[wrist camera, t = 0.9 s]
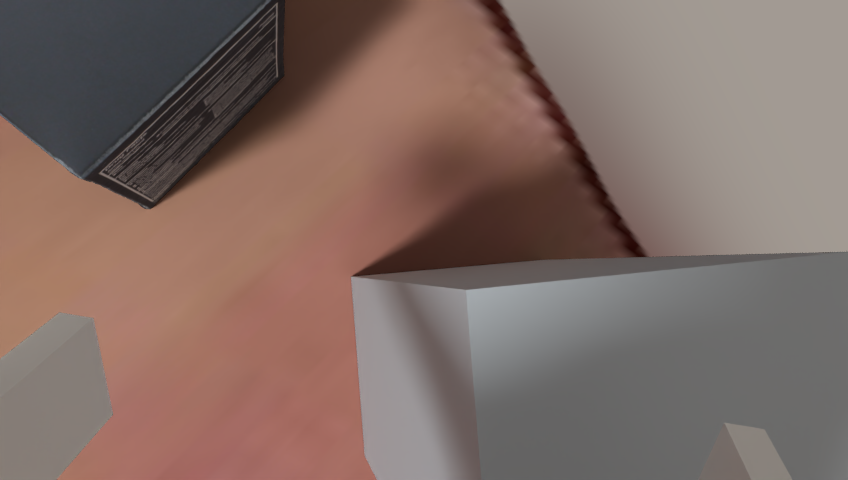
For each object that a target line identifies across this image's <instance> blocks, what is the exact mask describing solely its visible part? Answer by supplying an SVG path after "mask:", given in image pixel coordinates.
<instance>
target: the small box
mask: <svg viewBox="0 0 848 480" xmlns="http://www.w3.org/2000/svg"><path fill="white" fill-rule="evenodd" d="M284 6H285V0H0V115H1V116H2V117H3V118H4V119H6V120H7V121H8V122H9V123H11V124H12V125H13V126H14V127H16V128H17V129H18V130H19V131H20V132H22V133H23V134H24V135H25V136H27V137H28V138H29V139H30V140H31V141H33V142H34V143H35V144H36V145H38V146H39V147H40V148H41V149H43V150H44V151H45V152H46V153H48V154H49V155H50V156H51V157H53V158H54V159H55V160H56V161H57V162H59V163H60V164H61V165H63V166H64V167H65V168H66V169H67V170H68V171H70V172H71V173H72V174H74V175H75V176H77V177H78V178H80V179H83V180H86V181H89V182H93V183H95V184H99V185H101V186H103V187H104V188H107V189H108V190H111V191H112V192H114V193H117V194H119V195H121V196H123V197H126V198H128V199H130V200H132V201H134V202H136V203H138V204H139V205H140V206H141V207H143V208H145V209H151V208H152V207H153V206H154V205H155V204H156V203H157V202H158V201H159V200H160V199H161V198H162V197H163V196H164V195H165V194H166V193H167V192H168V191H169V190H170V189H171V188H172V187H173V186H174V185H175V184H176V183H177V182H178V181H179V180H180V179H181V178H182V177H183V176H184V175H185V174H186V173H187V172H188V171H189V170H190V169H191V168H192V167H193V166H194V165H196V164H197V163H198V162H199V160H200V159H201V158H202V157H204V155H205V154H206V153H207V152H209V151H210V149H211V148H213V146H214V145H215V144H216V143H217V142H218V141H219V140H220V139H221V138H223V137H224V136H225V134H226V133H227V132H228V131H229V130H231V129H232V128H233V127H234V126H235V125H236V124H237V123H238V122H239V121H240V120H241V119H242V117H244V116H245V114H246V113H248V112H249V110H250V109H252V108H253V107H254V106H255V105H256V104H257V103H258V102H259V101H260V100H261V98H262V97H263V96H264V95H265V94H266V93H267V92H268V91H269V90H270V89H271V88H272V87H273V86H274V85H275V84H276V83H277V82H278V81H279V80H280V79H281V78H282V77H283V76H284V64H283V47H284V43H283V42H284V18H285V15H284V13H285V8H284Z"/></svg>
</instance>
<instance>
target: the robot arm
mask: <svg viewBox="0 0 848 480" xmlns="http://www.w3.org/2000/svg"><path fill="white" fill-rule="evenodd" d="M112 415H113V412H112V407H111V402H110V397H109V392H108V387H107V383H106V378H105V373H104V368H103V363H102V358H101V353H100V348H99V344H98V339H97V334H96V329H95V324H94V319H93V318H90V317H84V316H78V315H72V314H66V313H58V314H57V315H56V316H54V317H53V318H52V319H51V320H49V321H48V322H47V323H45V324H44V325H43V326H42V327H40V328H39V329H38V330H37V331H35V332H34V333H33V334H31V335H30V336H29V337H28V338H26V339H25V340H24V341H22V342H21V343H20V344H19V345H17V346H16V347H15V348H13V349H12V350H11V351H10V352H8V353H7V354H6V355H5V356H3V357H2V358H1V359H0V480H56V479H57V478H58V477H59V476H60V475H61V474H62V472H63V471H64V470H65V469H66V468H67V467H68V466H69V464H70V463H71V462H72V461H73V460H74V459H75V458H76V456H77V455H78V454H79V453H80V452H81V451H82V449H83V448H84V447H85V446H86V445H87V444H88V443H89V441H90V440H91V439H92V438H93V437H94V436H95V435H96V433H97V432H98V431H99V430H100V429H101V428H102V427H103V425H104V424H105V423H106V422H107V421H108V420H109V419H110V417H111V416H112ZM698 480H792V478H791V476H790V474H789V473H788V471H787V469H786V467H785V465H784V464H783V462H782V460H781V458H780V456H779V455H778V453H777V451H776V449H775V447H774V446H773V444H772V442H771V440H770V438H769V436H768V435H767V433H766V431H765V429H760V428H754V427H748V426H742V425H736V424H730V423H724V424H723V426H722V428H721V431H720V433H719V435H718V437H717V439H716V441H715V444H714V446H713V448H712V450H711V452H710V455H709V457H708V459H707V461H706V463H705V465H704V468H703V470H702V472H701V474H700V476H699V479H698Z"/></svg>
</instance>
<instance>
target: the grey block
mask: <svg viewBox="0 0 848 480" xmlns="http://www.w3.org/2000/svg"><path fill="white" fill-rule="evenodd" d="M351 282H352V295H353V308H354V321H355V335H356V348H357V361H358V374H359V387H360V400H361V413H362V426H363V439H364V452H365V457H366V459H367V461H368V463H369V465H370V467H371V469H372V471H373V473H374V475H375V477H376V479H377V480H698V479H699V476H700V474H701V472H702V470H703V468H704V465H705V463H706V461H707V459H708V457H709V455H710V452H711V450H712V448H713V446H714V444H715V441H716V439H717V437H718V435H719V433H720V431H721V428H722V426H723V424H724V423H730V424H736V425H742V426H748V427H754V428H760V429H765V431H766V433H767V435H768V436H769V438H770V440H771V442H772V444H773V446H774V447H775V449H776V451H777V453H778V455H779V456H780V458H781V460H782V462H783V464H784V465H785V467H786V469H787V471H788V473H789V474H790V476H791V478H792V480H848V252H825V253H824V252H822V253H785V254H784V253H783V254H746V255H706V256H670V257H630V258H592V259H554V260H535V261H524V262H512V263H501V264H490V265H478V266H467V267H455V268H444V269H433V270H421V271H410V272H398V273H387V274H376V275H364V276H353V277H351Z"/></svg>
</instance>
